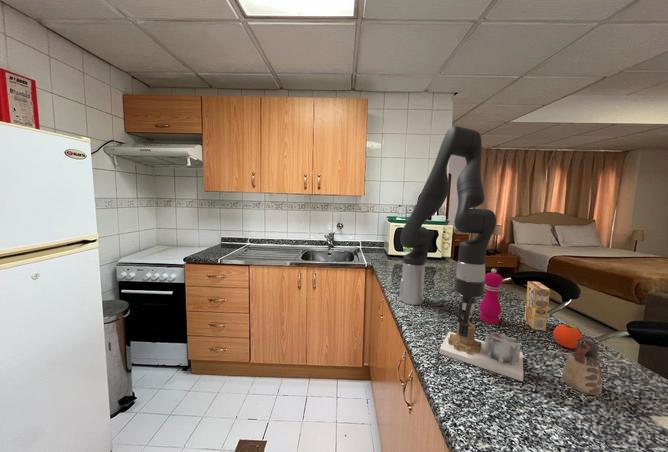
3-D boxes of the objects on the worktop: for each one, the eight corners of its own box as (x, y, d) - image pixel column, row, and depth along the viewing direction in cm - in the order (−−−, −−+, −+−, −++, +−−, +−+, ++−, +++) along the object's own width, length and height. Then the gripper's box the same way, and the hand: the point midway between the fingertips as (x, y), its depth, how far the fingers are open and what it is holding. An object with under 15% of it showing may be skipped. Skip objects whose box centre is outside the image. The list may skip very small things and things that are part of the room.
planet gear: (445, 346, 79) (447, 325, 79) (451, 334, 86) (453, 315, 86) (478, 357, 74) (480, 335, 74) (482, 344, 81) (484, 323, 81)
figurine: (608, 391, 64) (615, 344, 63) (589, 398, 62) (596, 349, 61) (573, 373, 71) (579, 330, 70) (555, 378, 69) (561, 333, 67)
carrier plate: (439, 353, 78) (441, 330, 78) (448, 335, 89) (450, 315, 88) (522, 381, 67) (525, 354, 66) (522, 357, 78) (524, 333, 77)
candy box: (546, 331, 94) (551, 289, 93) (532, 329, 95) (537, 287, 94) (536, 321, 103) (540, 282, 101) (523, 319, 104) (527, 280, 102)
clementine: (565, 339, 89) (568, 319, 88) (589, 351, 82) (592, 329, 81) (546, 341, 87) (549, 320, 86) (569, 353, 80) (572, 331, 80)
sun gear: (483, 358, 74) (484, 341, 73) (486, 345, 81) (487, 329, 80) (518, 369, 69) (520, 351, 69) (518, 355, 76) (520, 338, 76)
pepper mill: (503, 325, 98) (509, 272, 96) (482, 323, 99) (487, 270, 97) (495, 317, 105) (500, 267, 103) (475, 315, 106) (480, 265, 104)
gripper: (460, 270, 86) (456, 318, 88) (451, 280, 74) (446, 335, 76) (486, 274, 82) (482, 324, 84) (481, 285, 70) (476, 344, 72)
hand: (465, 330), depth 80 cm, fingers open, 8 cm apart
